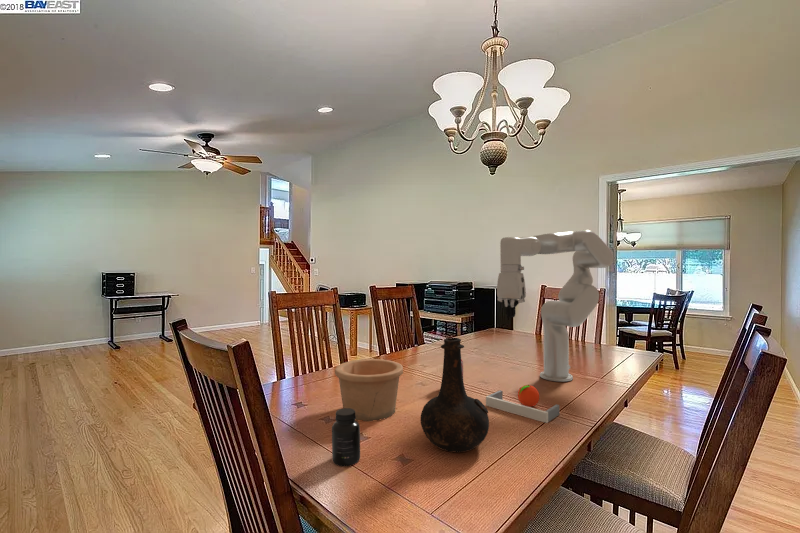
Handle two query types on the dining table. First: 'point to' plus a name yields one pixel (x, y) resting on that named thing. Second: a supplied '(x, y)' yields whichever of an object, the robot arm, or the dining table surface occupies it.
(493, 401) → the grey u-shaped bracket
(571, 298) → the robot arm
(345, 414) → the supplement bottle
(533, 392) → the clementine
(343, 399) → the pottery
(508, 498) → the dining table surface
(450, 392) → the glass bottle
